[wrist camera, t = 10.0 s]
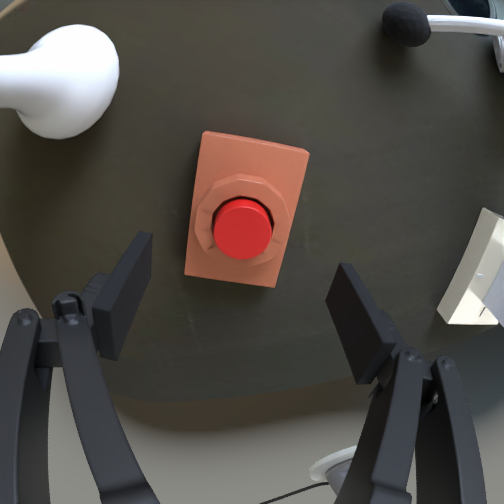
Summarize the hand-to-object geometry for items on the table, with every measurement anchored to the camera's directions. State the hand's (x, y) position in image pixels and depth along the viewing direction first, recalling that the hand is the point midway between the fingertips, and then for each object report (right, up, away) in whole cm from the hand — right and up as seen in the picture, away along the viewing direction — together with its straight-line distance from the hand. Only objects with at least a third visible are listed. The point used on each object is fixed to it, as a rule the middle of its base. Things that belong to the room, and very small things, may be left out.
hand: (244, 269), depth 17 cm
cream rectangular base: (+31, -1, +13) cm, 34 cm away
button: (0, +3, +6) cm, 6 cm away
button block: (-1, +5, +9) cm, 10 cm away
